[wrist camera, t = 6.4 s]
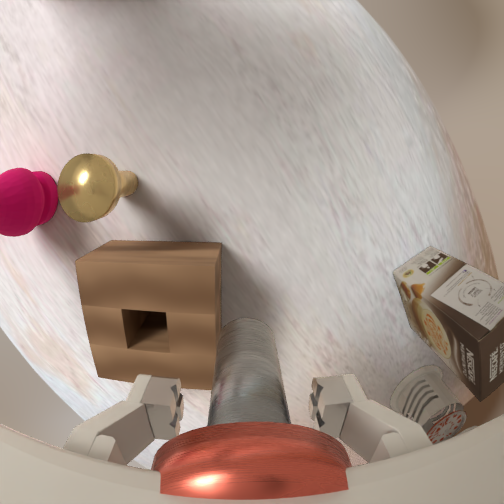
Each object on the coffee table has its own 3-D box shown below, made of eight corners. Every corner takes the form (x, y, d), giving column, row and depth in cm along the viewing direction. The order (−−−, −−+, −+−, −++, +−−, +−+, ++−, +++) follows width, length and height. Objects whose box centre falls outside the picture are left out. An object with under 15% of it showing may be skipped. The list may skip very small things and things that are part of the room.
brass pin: (104, 159, 27) (57, 157, 19) (150, 157, 28) (114, 150, 19) (105, 208, 29) (59, 222, 20) (149, 208, 29) (114, 222, 20)
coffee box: (389, 272, 32) (477, 339, 16) (430, 244, 31) (527, 291, 15) (409, 329, 34) (480, 404, 18) (446, 302, 33) (524, 363, 18)
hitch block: (111, 240, 30) (75, 260, 22) (221, 242, 30) (214, 266, 22) (123, 338, 32) (98, 377, 25) (221, 345, 33) (217, 390, 25)
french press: (452, 366, 36) (541, 468, 12) (417, 420, 39) (478, 525, 15) (410, 362, 35) (506, 491, 11) (373, 421, 38) (431, 548, 14)
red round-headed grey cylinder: (186, 289, 13) (112, 467, 4) (307, 290, 13) (395, 462, 4) (194, 383, 14) (165, 546, 5) (297, 383, 14) (336, 543, 5)
